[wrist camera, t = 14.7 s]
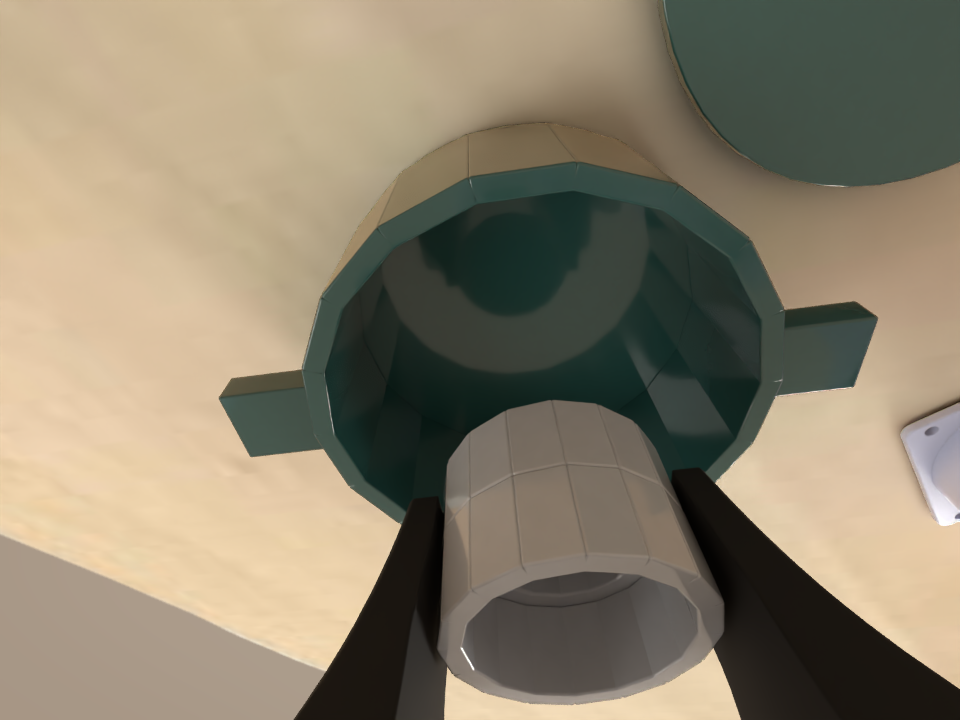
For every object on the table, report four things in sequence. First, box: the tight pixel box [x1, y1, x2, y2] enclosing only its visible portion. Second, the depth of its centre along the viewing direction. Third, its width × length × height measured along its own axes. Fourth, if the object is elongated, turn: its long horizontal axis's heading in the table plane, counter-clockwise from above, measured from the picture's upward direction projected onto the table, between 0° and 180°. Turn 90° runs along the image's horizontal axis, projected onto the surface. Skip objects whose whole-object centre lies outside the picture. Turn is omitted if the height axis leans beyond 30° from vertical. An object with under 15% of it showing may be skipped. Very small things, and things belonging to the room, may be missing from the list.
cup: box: [436, 400, 724, 705], centre depth 11 cm, size 5×5×4 cm
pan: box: [219, 122, 878, 525], centre depth 16 cm, size 13×18×5 cm
